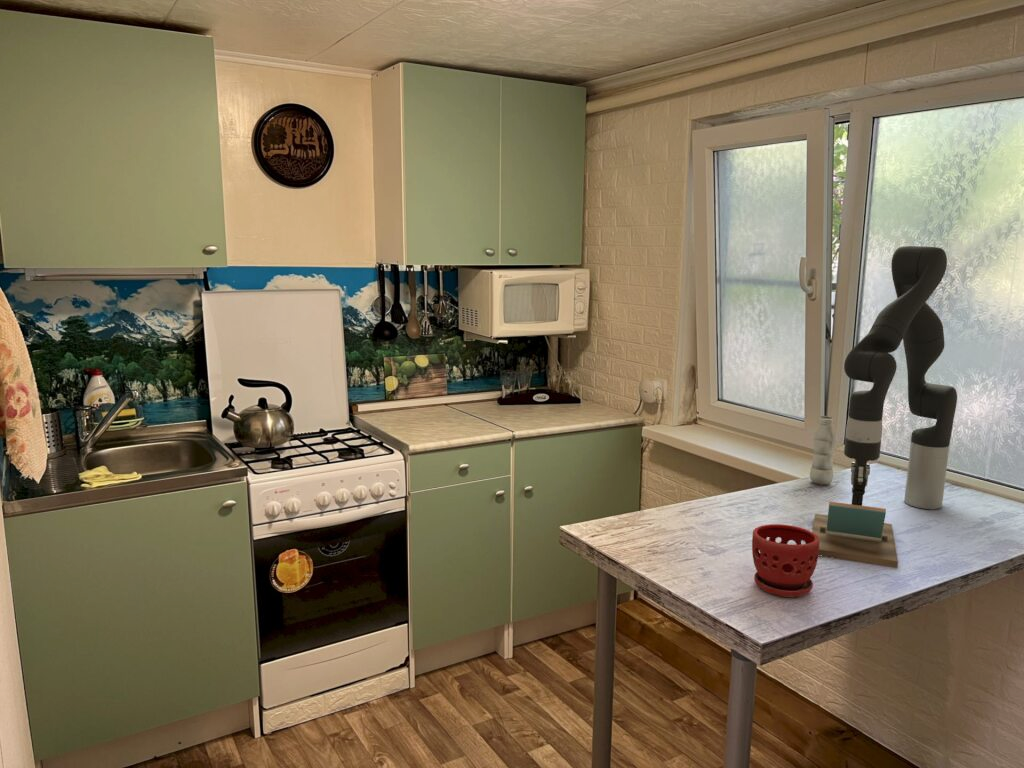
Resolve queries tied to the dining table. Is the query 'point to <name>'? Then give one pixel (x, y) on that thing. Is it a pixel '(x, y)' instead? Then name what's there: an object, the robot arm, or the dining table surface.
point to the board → (856, 544)
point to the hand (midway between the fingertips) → (856, 508)
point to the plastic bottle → (823, 452)
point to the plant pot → (784, 559)
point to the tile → (855, 519)
